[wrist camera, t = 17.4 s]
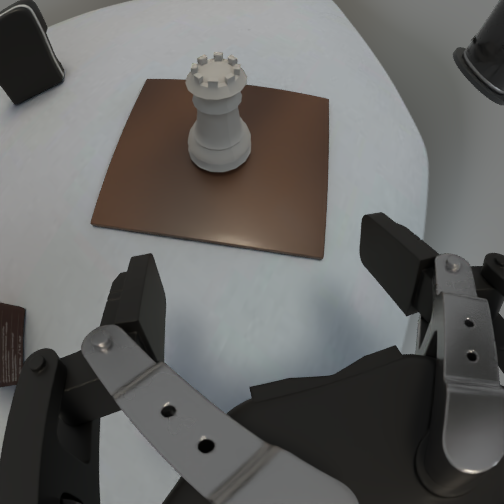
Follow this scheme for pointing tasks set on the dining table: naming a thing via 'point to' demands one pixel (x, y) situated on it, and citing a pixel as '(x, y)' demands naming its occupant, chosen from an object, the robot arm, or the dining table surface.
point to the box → (11, 343)
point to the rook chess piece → (218, 114)
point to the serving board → (222, 174)
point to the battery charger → (26, 53)
